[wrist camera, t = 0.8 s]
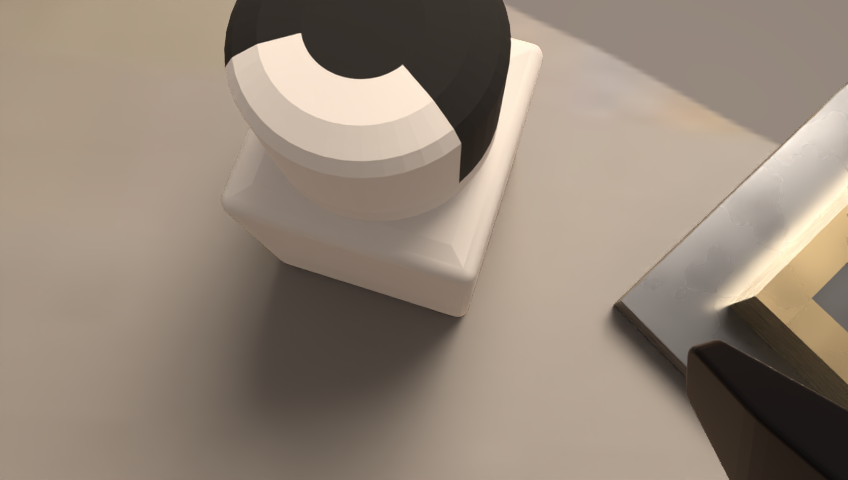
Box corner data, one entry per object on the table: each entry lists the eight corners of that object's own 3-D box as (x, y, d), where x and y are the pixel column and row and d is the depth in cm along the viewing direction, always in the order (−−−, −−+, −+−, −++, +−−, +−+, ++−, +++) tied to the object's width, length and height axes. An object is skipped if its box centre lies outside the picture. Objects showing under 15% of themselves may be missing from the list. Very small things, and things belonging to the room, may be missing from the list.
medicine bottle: (342, 90, 26) (260, -163, 15) (519, 141, 25) (583, -83, 14) (277, 262, 25) (127, 132, 13) (464, 321, 24) (484, 240, 12)
